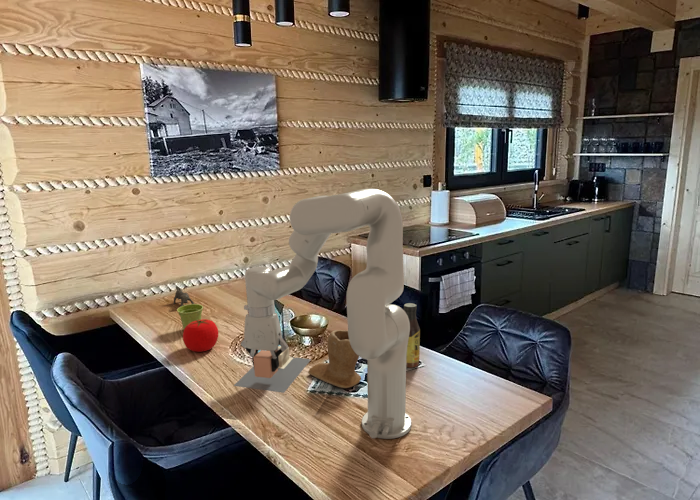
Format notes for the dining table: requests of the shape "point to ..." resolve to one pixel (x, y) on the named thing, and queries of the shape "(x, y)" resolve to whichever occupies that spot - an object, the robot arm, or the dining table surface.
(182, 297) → the dog figurine
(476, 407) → the dining table surface
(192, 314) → the plant pot
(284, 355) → the birch block
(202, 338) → the tomato
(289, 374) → the build board
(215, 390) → the dining table surface
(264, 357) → the terracotta block
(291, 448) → the dining table surface
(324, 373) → the tan boot
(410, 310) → the sauce bottle
